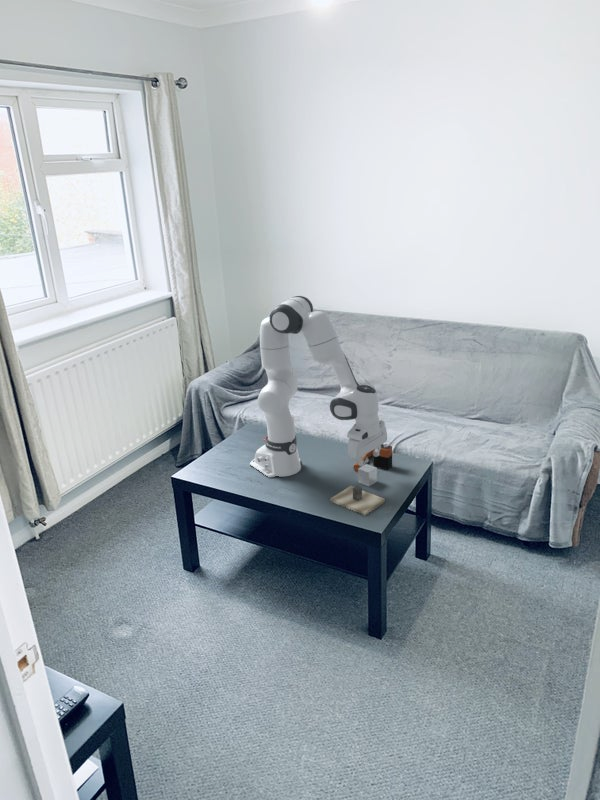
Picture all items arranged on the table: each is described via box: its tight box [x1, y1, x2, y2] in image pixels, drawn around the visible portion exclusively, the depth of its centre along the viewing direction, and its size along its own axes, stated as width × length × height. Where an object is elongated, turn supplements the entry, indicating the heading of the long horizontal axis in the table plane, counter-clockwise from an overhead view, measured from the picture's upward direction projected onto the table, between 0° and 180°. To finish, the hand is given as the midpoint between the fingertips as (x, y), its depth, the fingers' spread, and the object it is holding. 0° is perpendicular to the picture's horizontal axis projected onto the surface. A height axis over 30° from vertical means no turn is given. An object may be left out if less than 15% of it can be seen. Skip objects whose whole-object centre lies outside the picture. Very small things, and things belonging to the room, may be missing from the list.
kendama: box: [353, 450, 373, 472], centre depth 255 cm, size 6×6×20 cm
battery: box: [372, 443, 393, 471], centre depth 249 cm, size 4×7×10 cm, turn 57°
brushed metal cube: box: [357, 463, 378, 487], centre depth 238 cm, size 5×5×6 cm
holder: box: [329, 485, 386, 516], centre depth 225 cm, size 16×12×6 cm
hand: (369, 460), depth 236 cm, fingers open, 8 cm apart
